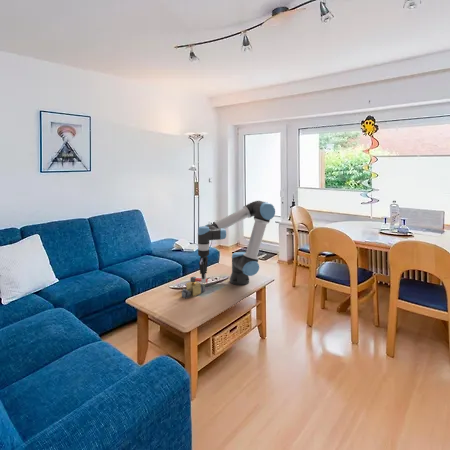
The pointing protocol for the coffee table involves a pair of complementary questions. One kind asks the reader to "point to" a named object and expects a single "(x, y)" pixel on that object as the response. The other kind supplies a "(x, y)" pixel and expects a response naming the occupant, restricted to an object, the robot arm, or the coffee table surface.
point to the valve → (193, 289)
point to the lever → (196, 279)
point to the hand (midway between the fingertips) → (203, 282)
